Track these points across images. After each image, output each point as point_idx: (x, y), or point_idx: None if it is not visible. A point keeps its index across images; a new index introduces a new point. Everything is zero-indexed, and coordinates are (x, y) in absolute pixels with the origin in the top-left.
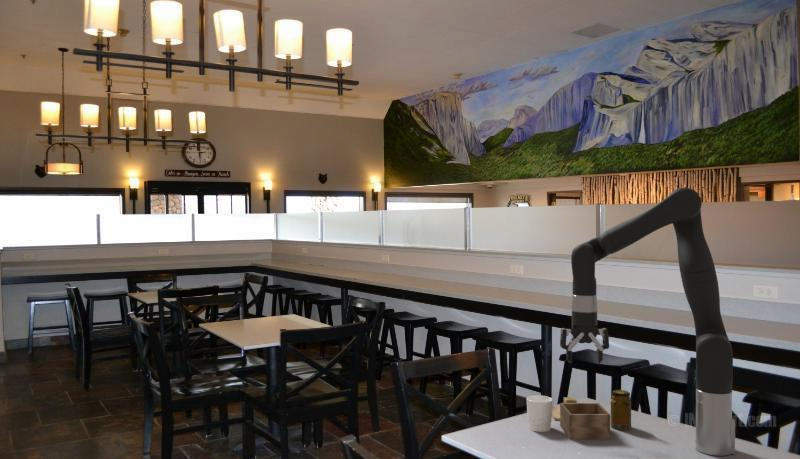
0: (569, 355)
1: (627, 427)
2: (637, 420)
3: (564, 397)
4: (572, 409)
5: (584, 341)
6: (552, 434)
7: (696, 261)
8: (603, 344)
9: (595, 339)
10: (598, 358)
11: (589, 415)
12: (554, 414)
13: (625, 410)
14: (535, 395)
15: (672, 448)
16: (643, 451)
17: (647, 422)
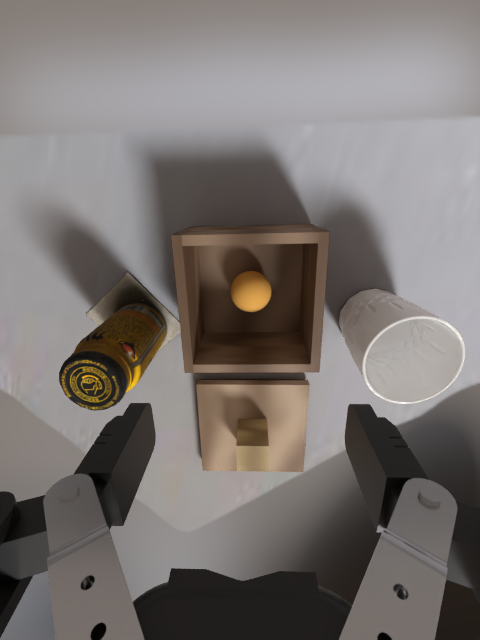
0: (391, 452)
1: (121, 308)
2: None
3: (266, 470)
4: (276, 354)
5: (255, 598)
6: (342, 287)
7: None
8: (17, 571)
9: (74, 620)
10: (136, 422)
11: (250, 233)
12: (300, 414)
13: (105, 326)
14: (411, 401)
15: (20, 173)
16: (108, 141)
17: None
